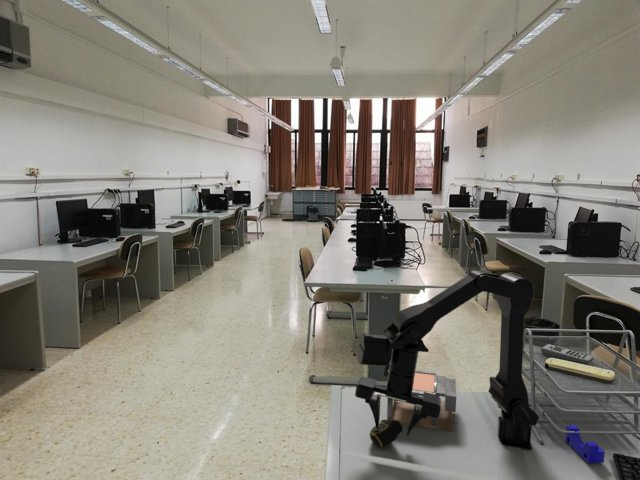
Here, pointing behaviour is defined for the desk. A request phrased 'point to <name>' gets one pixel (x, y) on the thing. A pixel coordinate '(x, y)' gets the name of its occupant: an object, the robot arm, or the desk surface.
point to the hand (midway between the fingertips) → (392, 430)
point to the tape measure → (385, 432)
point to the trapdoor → (437, 388)
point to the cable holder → (584, 446)
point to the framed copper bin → (404, 410)
